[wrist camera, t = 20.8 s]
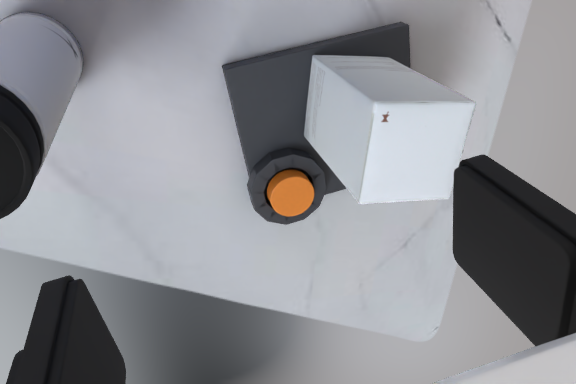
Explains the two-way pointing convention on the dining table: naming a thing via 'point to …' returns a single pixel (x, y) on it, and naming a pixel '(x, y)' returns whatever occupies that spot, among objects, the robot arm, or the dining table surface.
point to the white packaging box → (385, 128)
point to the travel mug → (32, 97)
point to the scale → (293, 111)
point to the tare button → (290, 192)
